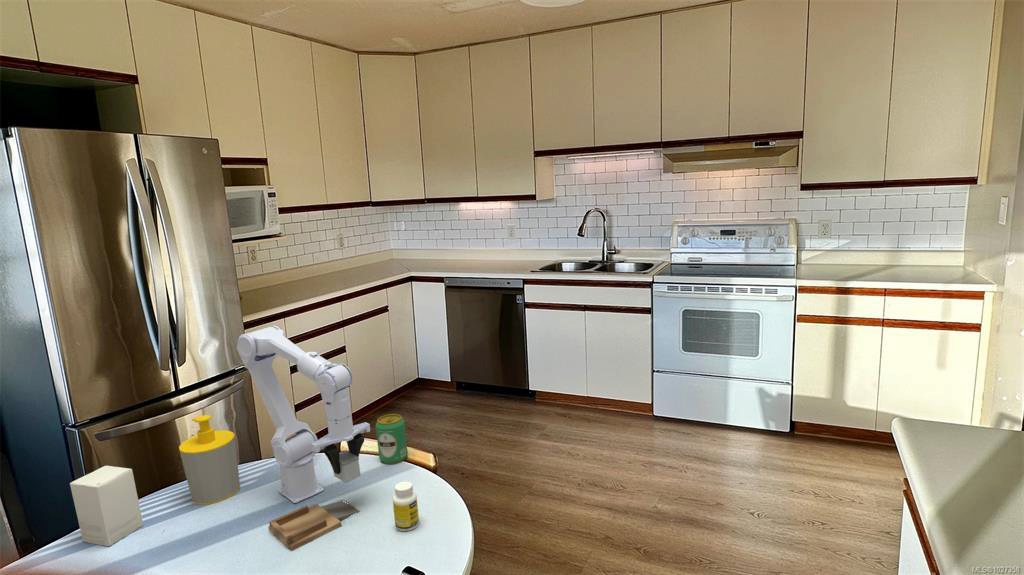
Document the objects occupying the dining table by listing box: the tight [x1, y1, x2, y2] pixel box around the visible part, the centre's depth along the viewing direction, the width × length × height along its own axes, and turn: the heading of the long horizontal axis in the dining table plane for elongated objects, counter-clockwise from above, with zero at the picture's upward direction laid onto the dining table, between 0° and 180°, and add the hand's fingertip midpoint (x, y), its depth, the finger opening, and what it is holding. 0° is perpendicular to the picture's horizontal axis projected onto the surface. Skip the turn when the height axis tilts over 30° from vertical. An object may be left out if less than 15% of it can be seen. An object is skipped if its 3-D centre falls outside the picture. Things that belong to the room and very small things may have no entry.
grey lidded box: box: [333, 450, 362, 484], centre depth 140 cm, size 6×4×5 cm
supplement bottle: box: [392, 481, 420, 532], centre depth 132 cm, size 5×5×10 cm
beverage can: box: [375, 413, 408, 465], centre depth 165 cm, size 8×8×12 cm
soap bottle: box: [178, 414, 241, 506], centre depth 151 cm, size 13×13×21 cm
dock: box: [268, 499, 361, 552], centre depth 136 cm, size 12×18×3 cm, turn 135°
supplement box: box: [69, 465, 144, 547], centre depth 136 cm, size 9×9×15 cm
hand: (345, 468), depth 140 cm, fingers closed on grey lidded box, 4 cm apart
